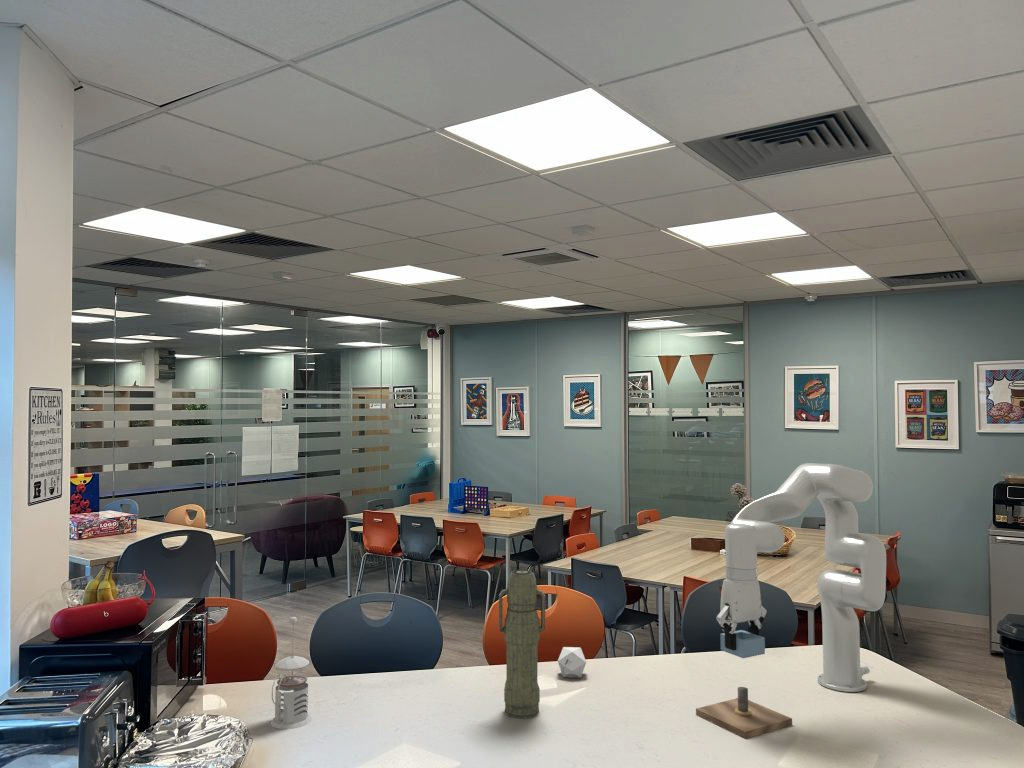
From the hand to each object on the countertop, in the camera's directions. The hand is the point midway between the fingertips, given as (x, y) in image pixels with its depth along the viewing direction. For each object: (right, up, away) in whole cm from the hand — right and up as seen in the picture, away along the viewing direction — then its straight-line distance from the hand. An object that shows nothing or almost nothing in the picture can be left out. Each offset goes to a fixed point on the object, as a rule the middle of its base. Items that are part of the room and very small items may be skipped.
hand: (742, 646), depth 180 cm
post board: (0, -18, -1) cm, 18 cm away
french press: (-111, -18, -3) cm, 113 cm away
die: (-40, -20, +31) cm, 54 cm away
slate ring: (0, -1, 0) cm, 1 cm away
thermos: (-54, -18, +4) cm, 58 cm away
